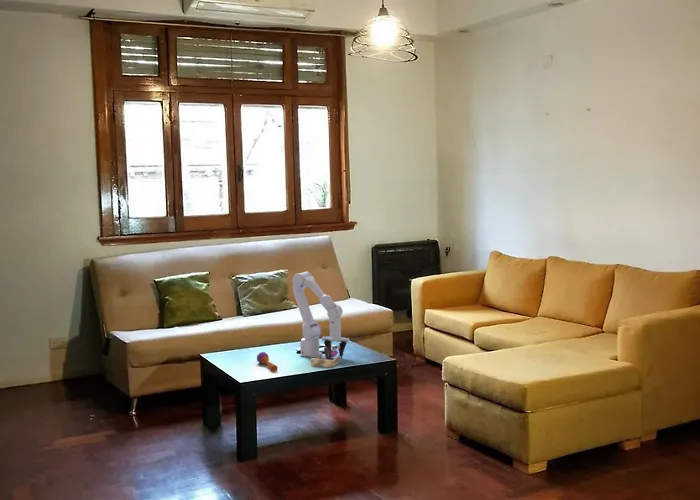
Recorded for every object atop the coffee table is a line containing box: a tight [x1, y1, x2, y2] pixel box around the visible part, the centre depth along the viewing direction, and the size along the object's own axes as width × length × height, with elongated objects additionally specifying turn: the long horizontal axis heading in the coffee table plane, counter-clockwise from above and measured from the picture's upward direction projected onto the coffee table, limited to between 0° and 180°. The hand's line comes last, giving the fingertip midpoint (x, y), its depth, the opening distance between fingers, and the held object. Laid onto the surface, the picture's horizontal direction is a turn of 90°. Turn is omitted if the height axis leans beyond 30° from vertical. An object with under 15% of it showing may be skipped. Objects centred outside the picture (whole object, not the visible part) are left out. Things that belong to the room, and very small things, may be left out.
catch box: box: [310, 354, 341, 368], centre depth 385 cm, size 11×12×4 cm
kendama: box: [256, 351, 279, 372], centre depth 382 cm, size 6×6×20 cm
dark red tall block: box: [323, 345, 343, 360], centre depth 395 cm, size 7×5×9 cm
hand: (335, 355), depth 396 cm, fingers closed on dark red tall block, 6 cm apart
